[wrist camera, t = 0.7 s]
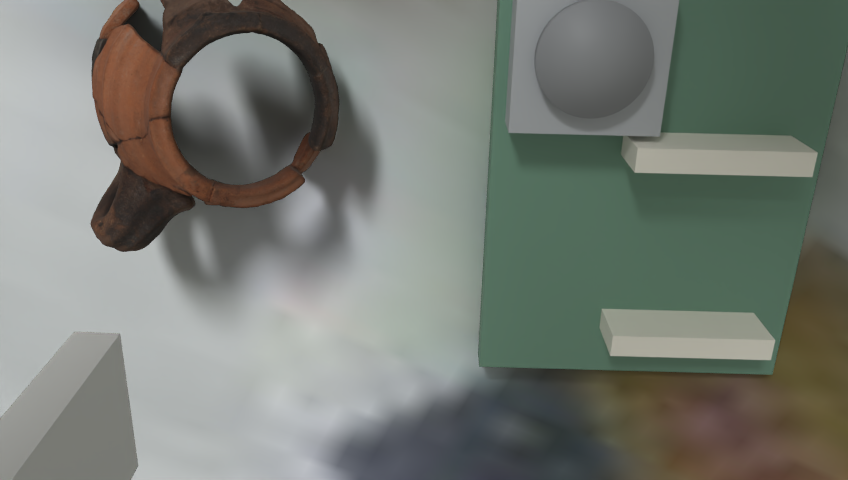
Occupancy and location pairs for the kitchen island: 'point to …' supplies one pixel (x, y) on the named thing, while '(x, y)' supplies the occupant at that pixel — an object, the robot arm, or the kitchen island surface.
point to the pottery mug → (151, 113)
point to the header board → (652, 179)
